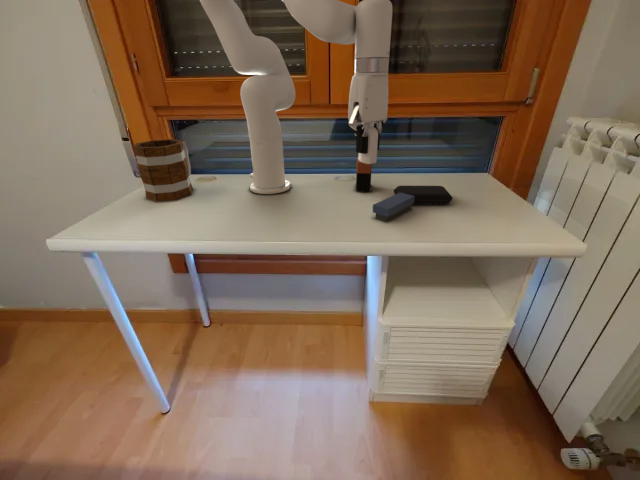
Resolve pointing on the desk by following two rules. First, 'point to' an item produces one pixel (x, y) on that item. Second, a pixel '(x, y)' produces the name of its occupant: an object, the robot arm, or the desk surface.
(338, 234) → the desk surface
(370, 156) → the eye dropper bottle
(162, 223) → the desk surface
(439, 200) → the carrying case
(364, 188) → the battery
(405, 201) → the navy rectangular block
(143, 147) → the mug
